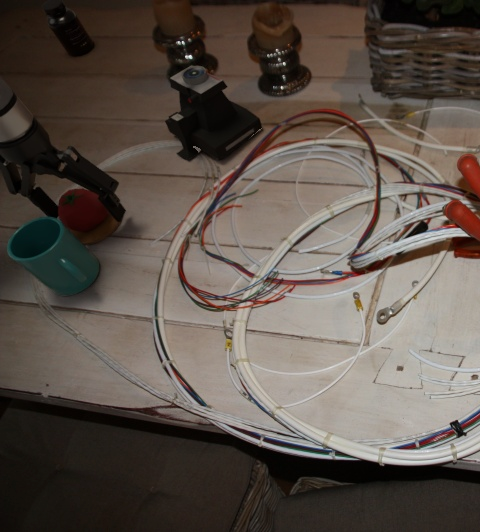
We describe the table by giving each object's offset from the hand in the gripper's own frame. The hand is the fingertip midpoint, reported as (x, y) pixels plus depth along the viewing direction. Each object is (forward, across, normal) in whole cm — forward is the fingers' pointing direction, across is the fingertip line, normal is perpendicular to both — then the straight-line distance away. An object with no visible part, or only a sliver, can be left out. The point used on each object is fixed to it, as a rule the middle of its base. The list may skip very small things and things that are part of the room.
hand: (89, 215), depth 102 cm
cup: (+2, +3, -13) cm, 13 cm away
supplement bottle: (+2, -28, +56) cm, 63 cm away
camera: (+2, +17, +23) cm, 29 cm away
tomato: (+1, 0, 0) cm, 1 cm away
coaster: (+2, 0, 0) cm, 2 cm away
